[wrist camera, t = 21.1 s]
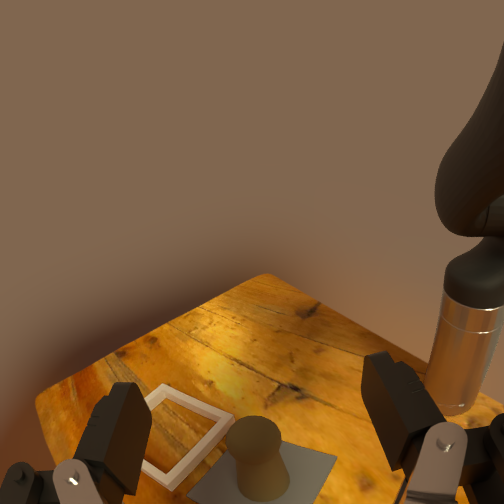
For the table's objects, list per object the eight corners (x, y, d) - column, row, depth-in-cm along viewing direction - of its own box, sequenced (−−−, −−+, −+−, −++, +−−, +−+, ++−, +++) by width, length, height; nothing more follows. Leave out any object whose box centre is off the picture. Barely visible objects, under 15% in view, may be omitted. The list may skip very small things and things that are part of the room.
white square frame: (165, 390, 45) (162, 383, 45) (235, 422, 38) (233, 414, 37) (105, 441, 34) (100, 433, 34) (172, 491, 27) (167, 485, 26)
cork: (298, 469, 29) (295, 414, 25) (277, 508, 24) (267, 464, 20) (252, 456, 31) (237, 400, 28) (228, 491, 26) (205, 442, 23)
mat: (246, 429, 36) (245, 427, 36) (336, 458, 29) (337, 456, 29) (187, 496, 26) (185, 495, 26) (286, 544, 19) (286, 543, 19)
